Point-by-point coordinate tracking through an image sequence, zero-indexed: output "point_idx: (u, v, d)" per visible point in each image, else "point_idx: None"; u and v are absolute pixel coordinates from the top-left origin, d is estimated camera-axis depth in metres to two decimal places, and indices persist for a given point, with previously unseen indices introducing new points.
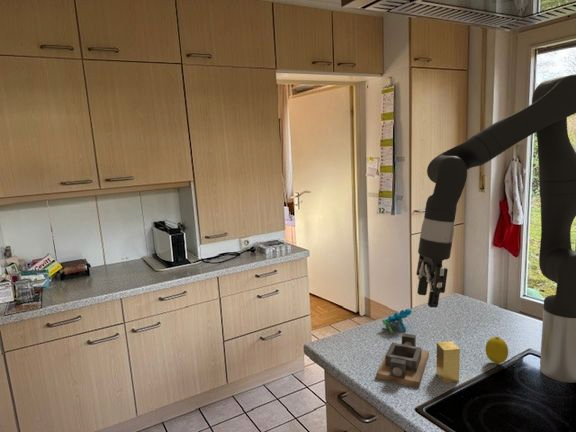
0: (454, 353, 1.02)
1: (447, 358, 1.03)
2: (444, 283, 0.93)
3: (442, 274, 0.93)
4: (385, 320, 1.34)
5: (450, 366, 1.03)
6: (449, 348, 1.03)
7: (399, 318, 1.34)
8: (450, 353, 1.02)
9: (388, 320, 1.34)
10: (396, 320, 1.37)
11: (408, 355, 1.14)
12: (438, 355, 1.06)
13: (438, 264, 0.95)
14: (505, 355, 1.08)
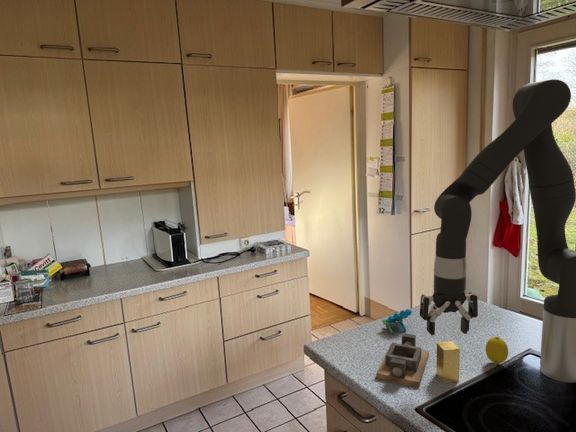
0: (454, 353, 1.02)
1: (447, 358, 1.03)
2: (423, 310, 1.01)
3: (422, 302, 1.02)
4: (385, 320, 1.34)
5: (450, 366, 1.03)
6: (449, 348, 1.03)
7: (399, 318, 1.34)
8: (450, 353, 1.02)
9: (388, 320, 1.34)
10: (396, 320, 1.37)
11: (408, 355, 1.14)
12: (438, 355, 1.06)
13: (435, 295, 1.02)
14: (505, 355, 1.08)
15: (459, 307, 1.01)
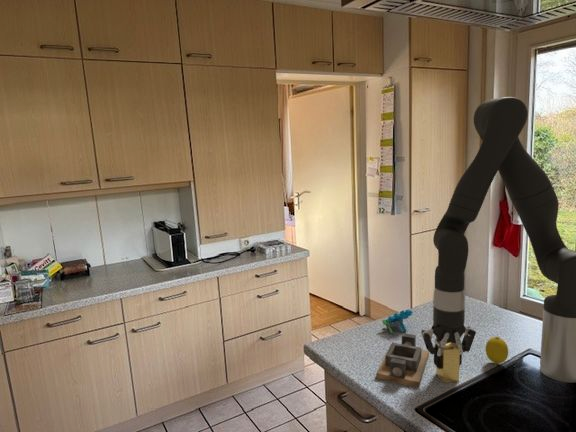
0: (453, 353, 1.02)
1: (447, 358, 1.03)
2: (427, 346, 1.03)
3: (424, 338, 1.03)
4: (385, 320, 1.34)
5: (450, 366, 1.03)
6: (449, 348, 1.03)
7: (399, 319, 1.34)
8: (450, 353, 1.02)
9: (388, 320, 1.34)
10: None
11: (408, 355, 1.14)
12: None
13: (433, 328, 1.03)
14: (505, 355, 1.08)
15: (456, 339, 1.02)
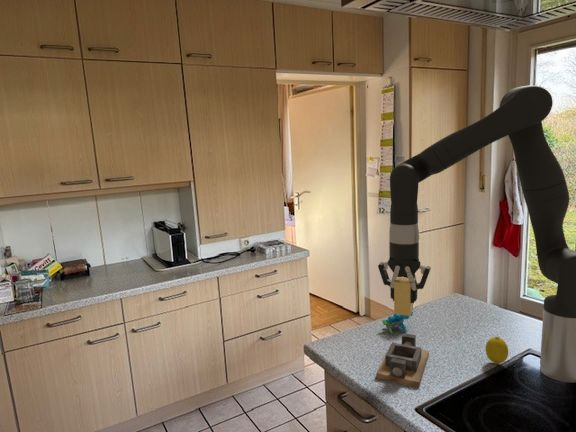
0: (404, 287, 1.06)
1: (398, 290, 1.07)
2: None
3: None
4: (385, 320, 1.34)
5: (401, 299, 1.07)
6: (401, 281, 1.07)
7: (400, 319, 1.34)
8: (401, 286, 1.06)
9: (388, 320, 1.34)
10: (397, 321, 1.36)
11: (408, 355, 1.14)
12: None
13: None
14: (505, 355, 1.08)
15: (408, 273, 1.05)
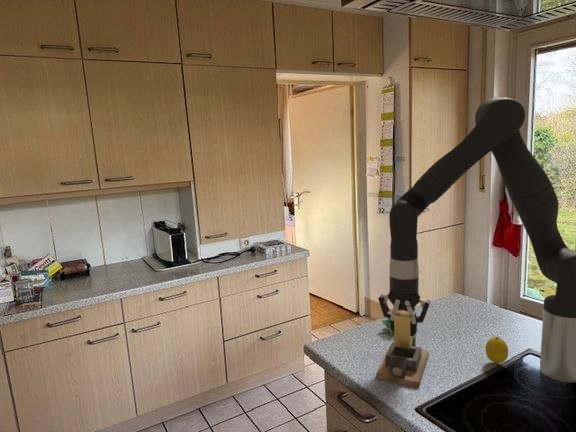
0: (404, 321, 1.07)
1: (398, 324, 1.08)
2: None
3: None
4: (385, 320, 1.34)
5: (401, 332, 1.08)
6: (401, 315, 1.08)
7: None
8: (400, 319, 1.08)
9: (388, 321, 1.33)
10: None
11: (408, 355, 1.14)
12: None
13: None
14: (505, 355, 1.08)
15: (408, 307, 1.07)
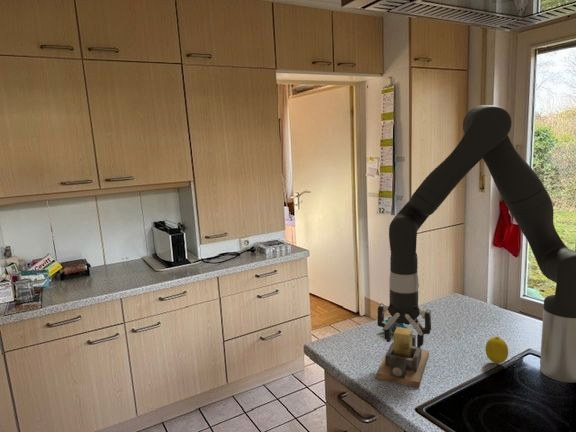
0: (403, 339, 1.08)
1: (397, 342, 1.09)
2: None
3: None
4: (385, 321, 1.33)
5: (400, 350, 1.09)
6: (400, 333, 1.09)
7: None
8: (400, 337, 1.09)
9: None
10: None
11: None
12: None
13: None
14: (505, 355, 1.08)
15: (409, 320, 1.07)
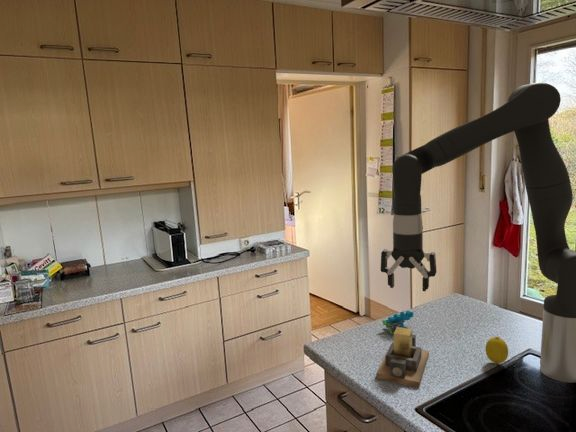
0: (403, 339, 1.08)
1: (397, 342, 1.09)
2: None
3: None
4: (385, 321, 1.33)
5: (400, 350, 1.09)
6: (400, 333, 1.09)
7: (400, 320, 1.33)
8: (400, 337, 1.09)
9: (388, 321, 1.33)
10: None
11: None
12: None
13: None
14: (505, 355, 1.08)
15: (414, 263, 1.05)
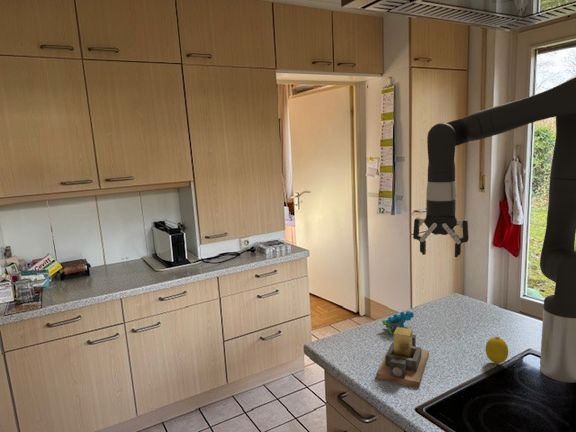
0: (403, 339, 1.08)
1: (397, 342, 1.09)
2: None
3: None
4: (385, 321, 1.33)
5: (400, 350, 1.09)
6: (400, 333, 1.09)
7: (400, 320, 1.33)
8: (400, 337, 1.09)
9: (388, 321, 1.33)
10: None
11: None
12: None
13: None
14: (505, 355, 1.08)
15: (447, 230, 1.09)
